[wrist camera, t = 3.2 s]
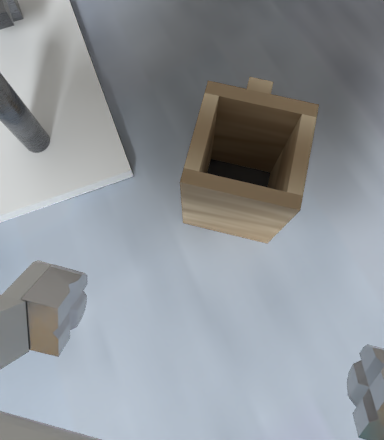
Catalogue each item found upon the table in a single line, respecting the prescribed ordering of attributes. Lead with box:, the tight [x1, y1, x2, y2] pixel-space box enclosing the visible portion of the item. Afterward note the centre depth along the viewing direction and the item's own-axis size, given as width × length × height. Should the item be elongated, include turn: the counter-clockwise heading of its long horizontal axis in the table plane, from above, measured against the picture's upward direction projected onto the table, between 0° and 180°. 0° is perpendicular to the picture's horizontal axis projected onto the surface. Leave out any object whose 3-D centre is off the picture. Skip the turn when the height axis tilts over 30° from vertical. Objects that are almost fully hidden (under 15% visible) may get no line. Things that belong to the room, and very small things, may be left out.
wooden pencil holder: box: [180, 77, 319, 243], centre depth 21 cm, size 10×5×7 cm, turn 166°
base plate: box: [0, 0, 133, 223], centre depth 25 cm, size 16×12×1 cm
